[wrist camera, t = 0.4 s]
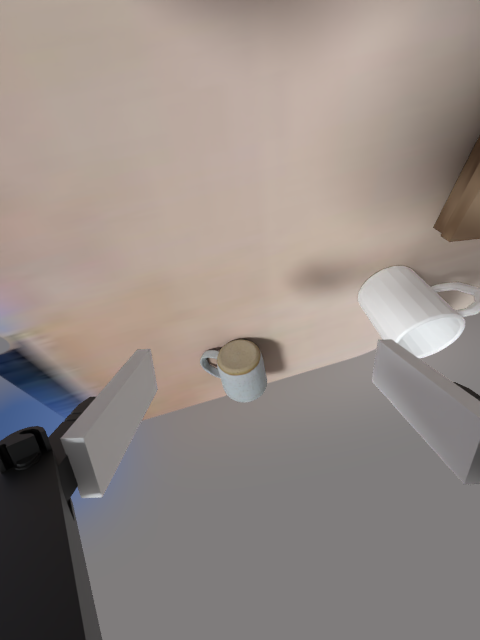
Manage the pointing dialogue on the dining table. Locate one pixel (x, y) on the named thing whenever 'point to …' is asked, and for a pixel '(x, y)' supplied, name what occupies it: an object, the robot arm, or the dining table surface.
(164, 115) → the dining table surface
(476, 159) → the dock
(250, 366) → the ceramic mug
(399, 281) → the mug
